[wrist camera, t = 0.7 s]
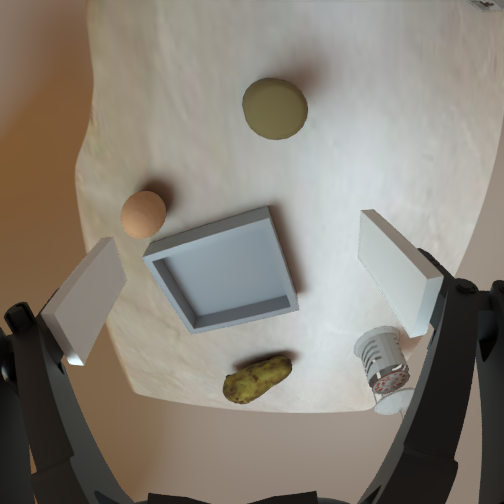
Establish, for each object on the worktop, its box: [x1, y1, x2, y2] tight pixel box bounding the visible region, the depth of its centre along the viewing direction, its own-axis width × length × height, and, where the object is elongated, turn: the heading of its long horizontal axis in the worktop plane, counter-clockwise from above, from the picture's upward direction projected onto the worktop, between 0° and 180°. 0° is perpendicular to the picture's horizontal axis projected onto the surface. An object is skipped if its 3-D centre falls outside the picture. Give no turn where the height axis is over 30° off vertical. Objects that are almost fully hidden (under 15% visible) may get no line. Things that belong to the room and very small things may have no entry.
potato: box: [223, 356, 292, 404], centre depth 50 cm, size 8×13×8 cm, turn 96°
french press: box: [354, 326, 415, 421], centre depth 41 cm, size 10×12×25 cm
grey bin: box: [142, 206, 299, 334], centre depth 40 cm, size 17×15×4 cm
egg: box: [121, 191, 166, 239], centre depth 33 cm, size 5×5×7 cm
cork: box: [242, 78, 308, 140], centre depth 25 cm, size 6×6×11 cm
